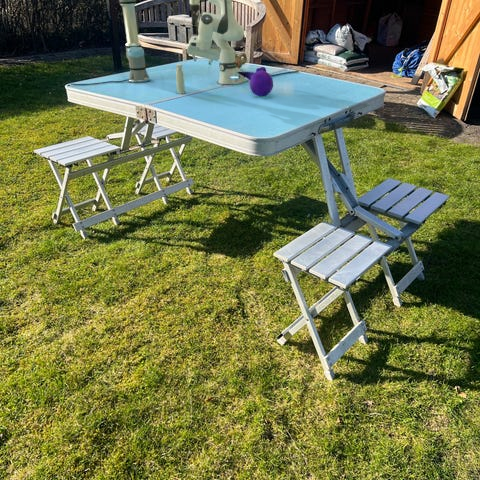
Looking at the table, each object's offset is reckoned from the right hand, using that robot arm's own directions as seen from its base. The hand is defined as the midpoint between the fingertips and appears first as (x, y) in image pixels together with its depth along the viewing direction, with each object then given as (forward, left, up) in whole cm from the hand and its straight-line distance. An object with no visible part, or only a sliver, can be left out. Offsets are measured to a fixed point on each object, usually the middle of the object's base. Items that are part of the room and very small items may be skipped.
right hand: (202, 62), depth 281 cm
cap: (+3, -20, -3) cm, 21 cm away
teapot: (-79, -51, -21) cm, 96 cm away
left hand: (-52, -66, +7) cm, 84 cm away
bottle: (+3, -20, -21) cm, 29 cm away
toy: (-27, +22, -21) cm, 40 cm away
